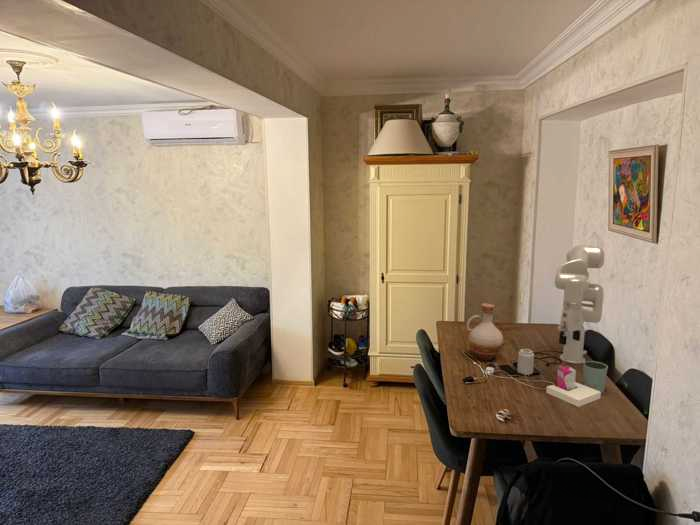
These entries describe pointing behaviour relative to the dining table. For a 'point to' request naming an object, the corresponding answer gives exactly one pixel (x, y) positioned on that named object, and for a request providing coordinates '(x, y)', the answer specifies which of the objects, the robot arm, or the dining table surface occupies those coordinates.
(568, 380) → the supplement box
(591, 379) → the grey-green cup
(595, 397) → the notched board
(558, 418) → the dining table surface
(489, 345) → the jug
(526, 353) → the can
